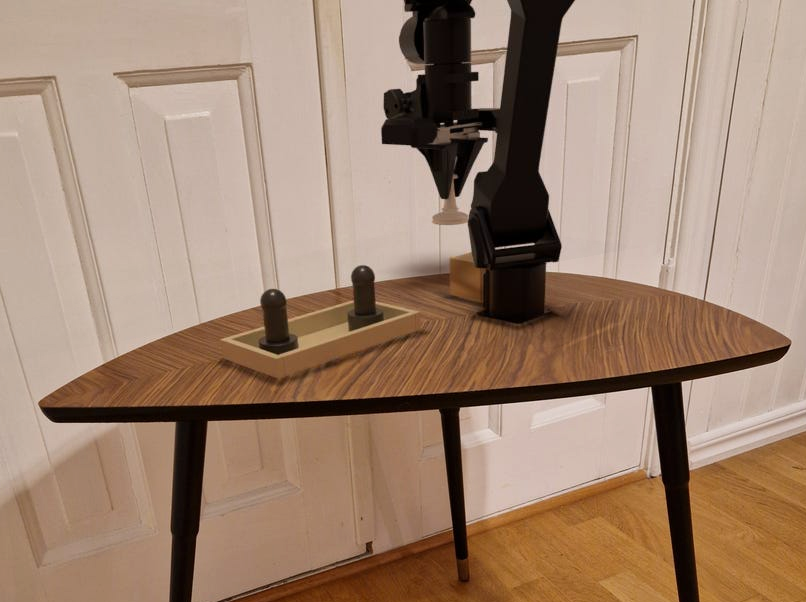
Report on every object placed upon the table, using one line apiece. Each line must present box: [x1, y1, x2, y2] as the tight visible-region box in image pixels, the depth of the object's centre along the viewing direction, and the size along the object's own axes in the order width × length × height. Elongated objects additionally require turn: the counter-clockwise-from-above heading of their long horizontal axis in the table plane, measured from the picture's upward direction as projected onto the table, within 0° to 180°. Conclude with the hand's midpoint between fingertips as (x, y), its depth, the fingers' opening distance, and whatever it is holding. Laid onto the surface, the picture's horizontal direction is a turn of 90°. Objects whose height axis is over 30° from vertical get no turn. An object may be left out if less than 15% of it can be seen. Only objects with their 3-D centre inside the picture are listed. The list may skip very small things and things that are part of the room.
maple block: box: [449, 251, 486, 302], centre depth 101 cm, size 5×5×5 cm
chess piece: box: [431, 140, 469, 226], centre depth 105 cm, size 5×5×10 cm
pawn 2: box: [347, 264, 384, 332], centre depth 88 cm, size 4×4×7 cm
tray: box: [219, 299, 422, 380], centre depth 86 cm, size 20×10×2 cm, turn 134°
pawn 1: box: [258, 288, 299, 355], centre depth 81 cm, size 4×4×7 cm
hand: (450, 197), depth 106 cm, fingers closed on chess piece
